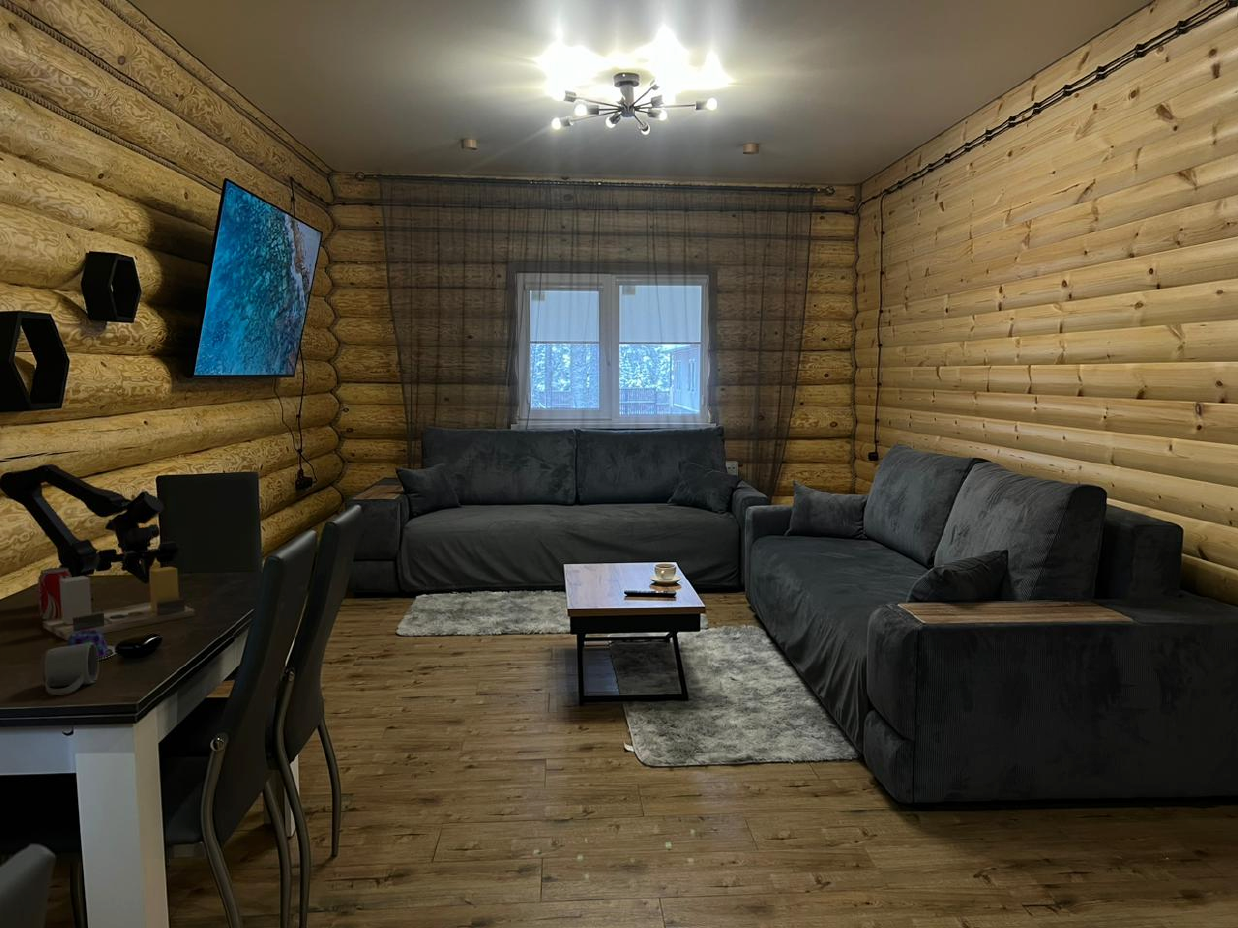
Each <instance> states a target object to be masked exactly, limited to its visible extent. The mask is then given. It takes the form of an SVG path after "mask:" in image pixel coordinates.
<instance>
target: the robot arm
mask: <svg viewBox="0 0 1238 928" xmlns="http://www.w3.org/2000/svg"><path fill="white" fill-rule="evenodd" d="M43 483H47V484H49V485H51V486H53V487H54V488H57V489H58V490H60V491H62V492H64V493H66V494H68V495H70V496H72V497H74V498H76V499H78V500H80V502H82V503H84V505H85V507H86V508H87V509H88V510H89V511H90V512H92V513H93V514H94V515H96V516H97V517H100V518H108V517H112V516H115V517H113V518H112V519H109V521H108V522H107V523H106V524H105V526H104V529H105V530H108V531H113V532H114V534H115V536H116V538H117V547H118V549H120V550H121V552H122V553H118V552H117V549H115V548H108V549H102V550H98V549H97V548H95V547H94V545H93V544H92V542H91V540H89V539H88V538H86V539H83V540H80V539H78V538H77V537H75V535H74V534H73V532H72V531H71V530H70V528H69V527H68V526H67V525H66V523H65V522H64V521H63V520H62V518H61V517H60V516H59V514H58V513H57V511H55V510H54V508H53V506H52V505H50V502H49V501H47V499H46V497H45V496H44V495H43V488H42V487H43V485H42V484H43ZM0 490H1V492H3V493H4V494H5V495H6V496H7V497H8V498H9V499H11V500H12V501H14V502H16V503H19V504H20V505H21V506H23V507H24V508H25V509H26V511H27V513H29V515H30V516H31V517H32V518H33V519H34V520H35V522H36V524H38V526H39V527H40V529H41V530H42V531H43V532H44V534H45V535H46V536H47V537H48V539H49V540H50V541H51V543H52V544H53V545H54V546H55V548H56V549H57V558H58V561H59V564H60V565H59V566H58V567H57V568H68V569H69V570H68V571H69V573H70V574H71V575H72V578H73V577H80V576H85V577H87V578H88V576H90V575H91V576H92V575H94V573H95V572H98V573H99V572H105V571H110V569H112V567H113V565H112V564H113V563H115V564H116V563H121V571H122V572H124V571H126V572H127V573H130V574H131V575H132V576H134V577H136V579H138V580H139V581H141V582H142V583H143V584H150V577H149V570H151V568H152V566H153V565H154V562H155V560H156V561H157V562H158V563H159V564H163V563H171V562H173V561H175V559H176V556H177V554H178V552H179V550H180V548H179V545H178V543H177V542H175V541H167V542H159V544H158V547H157V548H151V549H149V548H148V547H151V545H152V543H151V540H152V541H153V539H156V538H158V537H159V536H160V534H161V532H160V527H159V526H158V524H157V523H155V524H149V525H148V526H144V527H141V526H140V525H139V524H145V525H146V524H148V523H149V522H150V521H151V520H152V519H154V518H155V517H156V516H158V515H159V514H160V513H162V512H163V510H164V508H165V506H164V503H163V502H162V500H161V499H160V498H158V497H156V496H155V495H153V494H150V493H149V492H148V491H147V490H144V491H141V492H140V493H139V494H138V495H137V496H136V497H134V498H133V499H129V498H125V496H124V495H123V494H121V493H120V492H116V491H113V490H110V489H105V488H100V487H97V486H94V485H92V484H90V483H89V482H86V481H84V480H82V479H80V477H77V476H75V475H73V474H71V473H69V472H67V471H65V470H63V469H62V468H60V467H59V466H58V465H56V464H53V463H51V464H50V463H49V464H40V465H39V466H37V467H33V468H30V469H24V470H23V469H22V470H21V469H20V470H15V471H8V472H4V473H3V474H2V475H0ZM93 600H94V597H92V596H91V601H93Z"/></svg>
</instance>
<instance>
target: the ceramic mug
mask: <svg viewBox="0 0 1238 928" xmlns="http://www.w3.org/2000/svg"><path fill="white" fill-rule="evenodd" d="M99 661H100V660H98V652H97V648H96V646H95V644H94V643H85V644H78V645H72V646H67V645H66V646H60V647H54V648H51V649H48V650H46V651H45V652H44V654H43V655H42V658H41V661H40V675H41V678H42V682H43V683H44V685H45V690H46V692H47V693H48V694H49V695H51V696H54V695H61V696H66V695H65V694H67V695H69V694H72V693H74V692H76V691H77V690H78V689H80V687H81V686H82V684H83V685H92V684H94V683H95V682H94V681H93V680H96V681H97V680H98V675H99V669H100V667H99V666H100V663H99ZM93 682H94V683H93ZM91 683H92V684H91ZM68 685H69V686H68ZM59 686H60V687H64V688H59ZM66 686H67V687H66ZM51 687H54V688H51ZM55 687H58V688H55Z"/></svg>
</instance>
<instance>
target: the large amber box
mask: <svg viewBox="0 0 1238 928" xmlns="http://www.w3.org/2000/svg"><path fill="white" fill-rule="evenodd" d="M178 575H179V574H178V568H176V567H173V566H166V567H165V566H164V567H157V568H150V570H149V595H150V596H149V597H150V602H151V610H153V611H155V612H157V603H158V602H163V601H169V600H175V599H180V598H179V597H180V596H179V583H178V582H179V580H178V579H179V578H178V577H179V576H178Z"/></svg>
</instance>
